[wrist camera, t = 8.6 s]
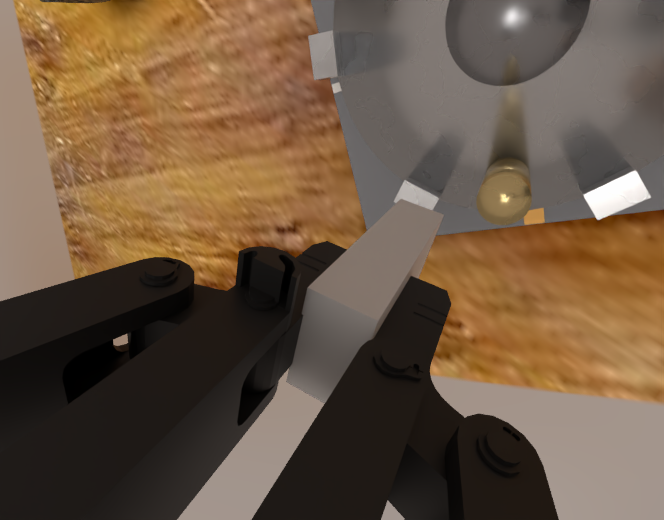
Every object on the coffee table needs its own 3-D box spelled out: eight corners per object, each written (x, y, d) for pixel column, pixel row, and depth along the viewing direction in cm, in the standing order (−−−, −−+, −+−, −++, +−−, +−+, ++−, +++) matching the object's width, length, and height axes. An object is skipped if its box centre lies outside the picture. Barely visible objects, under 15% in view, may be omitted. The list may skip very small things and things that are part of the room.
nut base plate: (847, -463, 14) (883, -524, 12) (778, 187, 21) (796, 195, 20) (295, -103, 25) (281, -114, 24) (375, 236, 33) (369, 243, 31)
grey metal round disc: (316, -131, 23) (231, -217, 16) (887, -384, 13) (1252, -847, 7) (353, 204, 30) (306, 239, 24) (731, 198, 21) (827, 254, 14)
